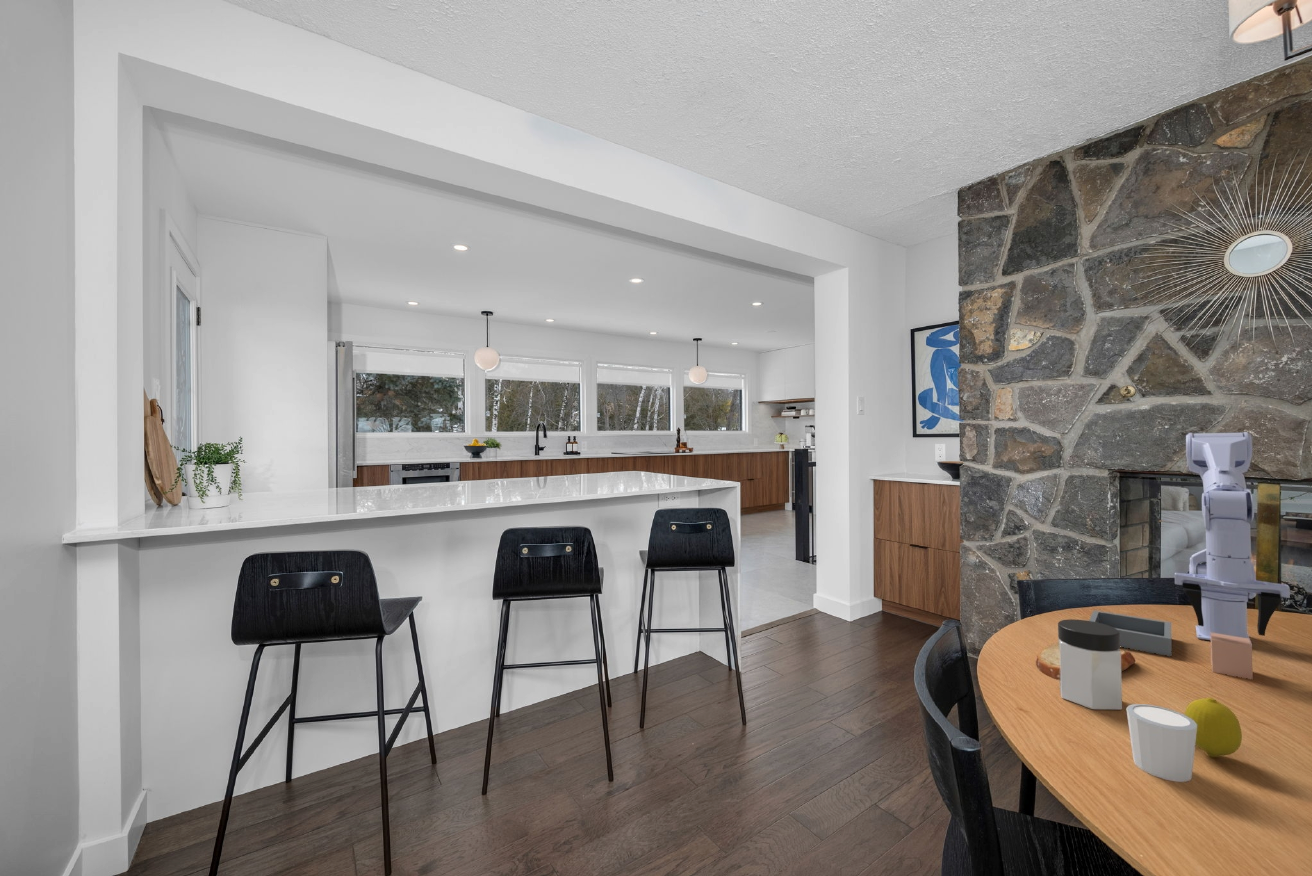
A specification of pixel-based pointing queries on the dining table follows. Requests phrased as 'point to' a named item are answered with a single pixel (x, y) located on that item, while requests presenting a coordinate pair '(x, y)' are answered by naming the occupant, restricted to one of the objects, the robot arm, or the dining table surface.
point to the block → (1231, 655)
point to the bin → (1138, 632)
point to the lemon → (1215, 727)
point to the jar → (1090, 664)
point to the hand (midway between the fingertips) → (1230, 629)
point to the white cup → (1162, 741)
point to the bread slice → (1050, 661)
